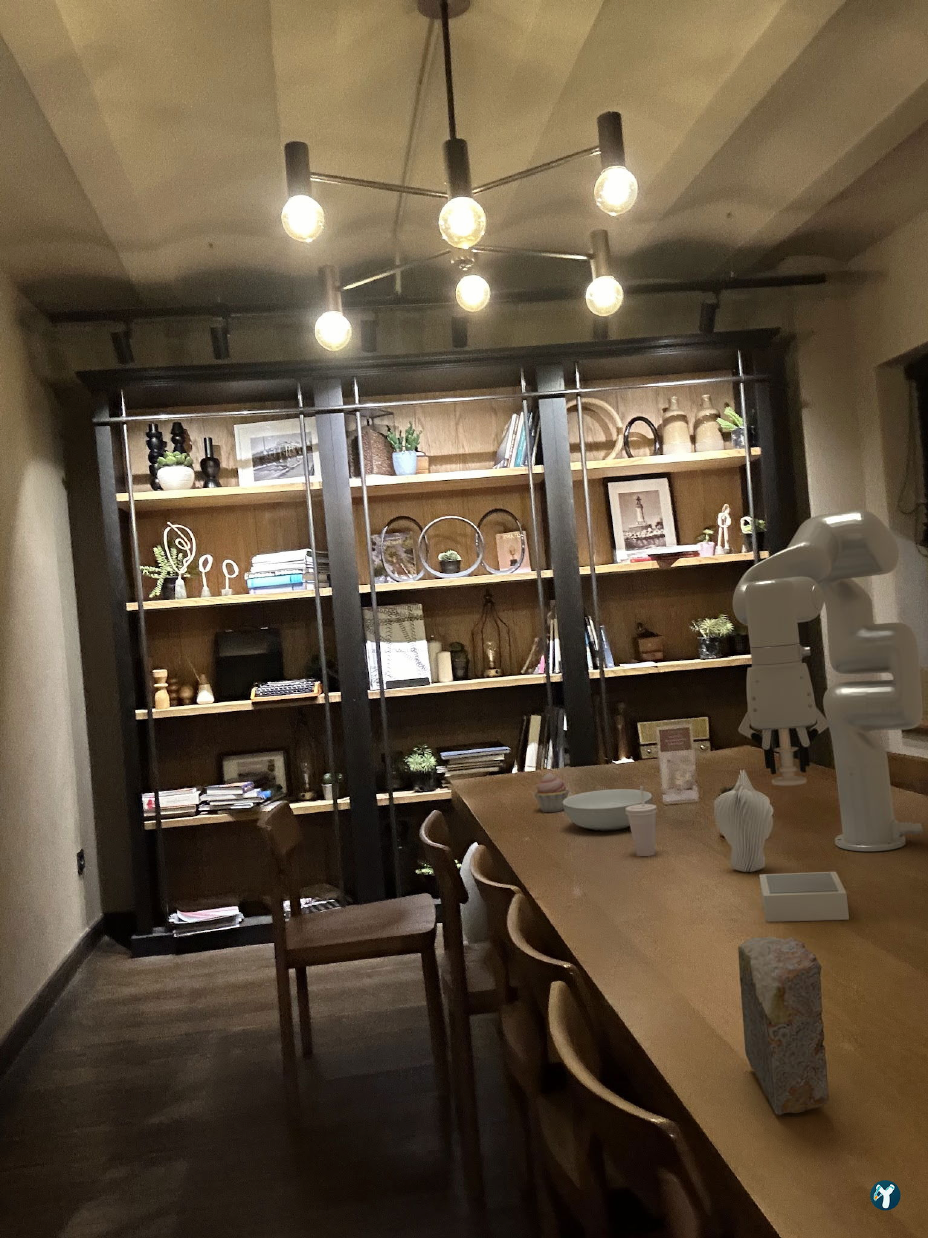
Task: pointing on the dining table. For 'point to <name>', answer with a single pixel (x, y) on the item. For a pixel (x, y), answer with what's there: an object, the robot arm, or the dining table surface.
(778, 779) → the candle
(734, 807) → the shell sculpture
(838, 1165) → the dining table surface
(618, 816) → the serving bowl
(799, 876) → the plinth
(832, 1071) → the dining table surface
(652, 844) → the smoothie
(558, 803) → the cupcake
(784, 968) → the geological specimen
